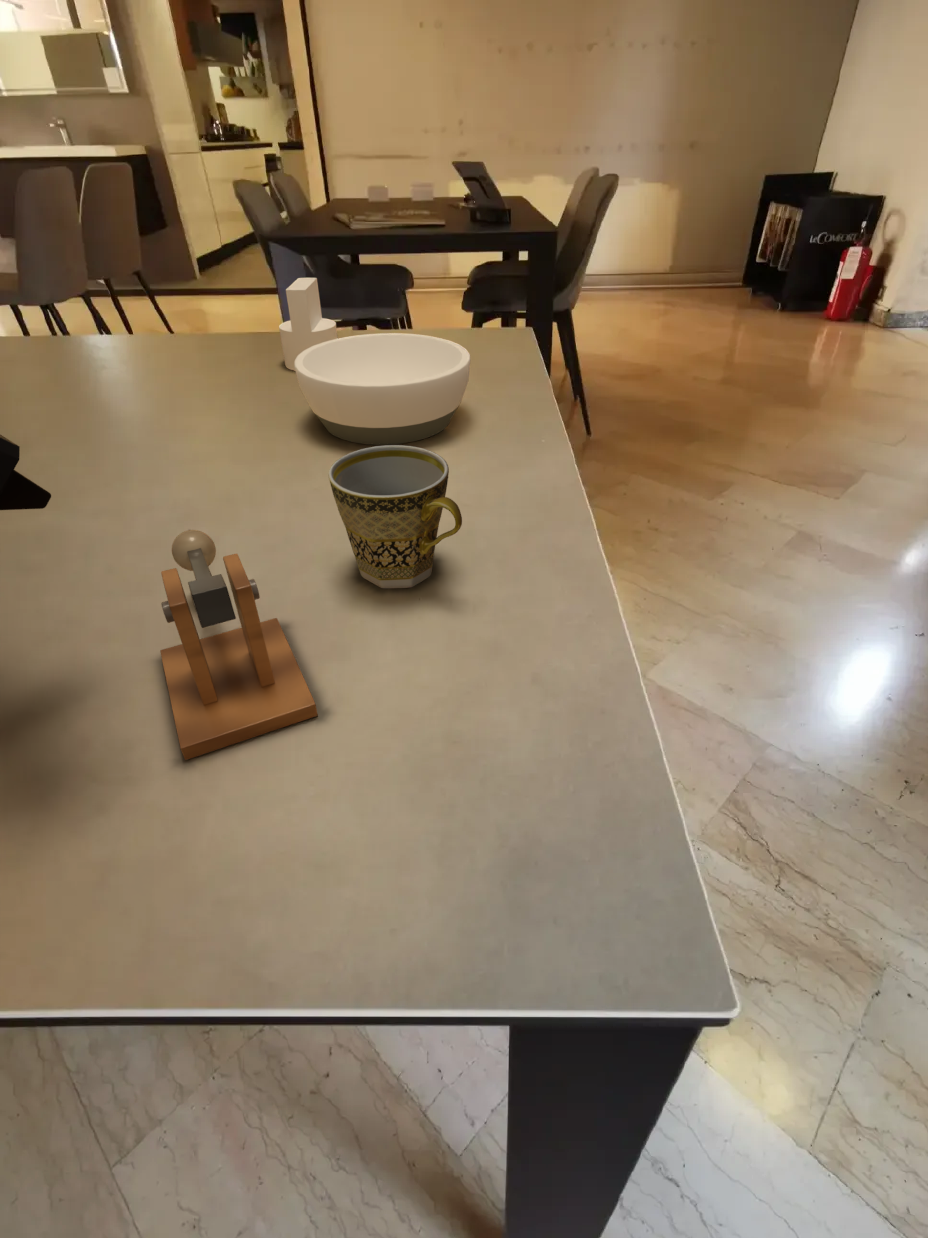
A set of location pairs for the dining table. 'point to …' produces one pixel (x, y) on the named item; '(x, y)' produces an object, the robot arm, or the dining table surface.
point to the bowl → (384, 385)
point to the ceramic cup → (393, 510)
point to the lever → (203, 577)
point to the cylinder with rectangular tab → (304, 321)
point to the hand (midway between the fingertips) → (46, 499)
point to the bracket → (230, 672)
